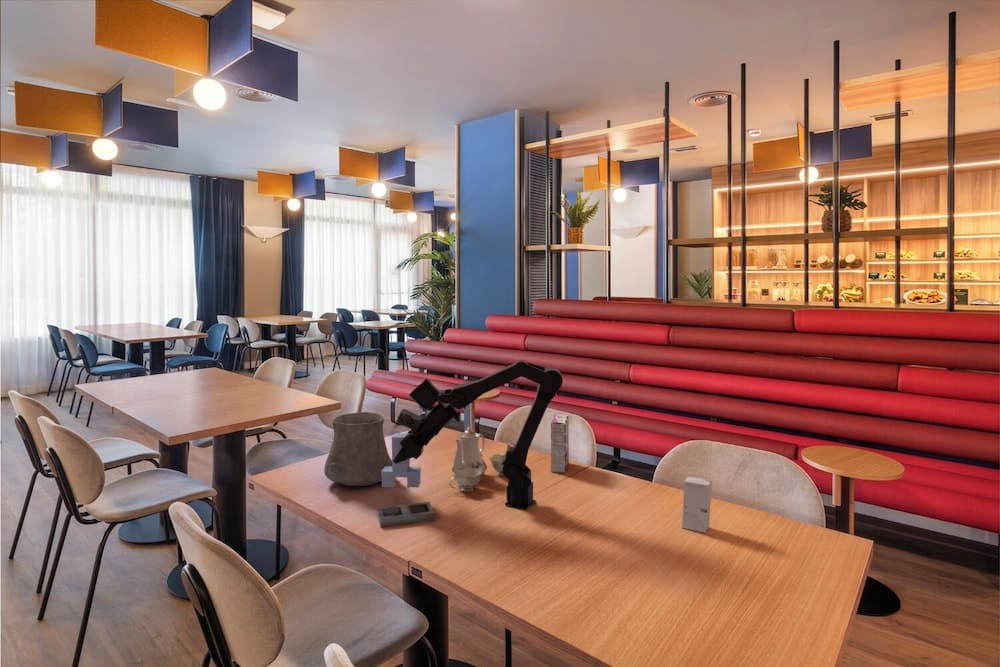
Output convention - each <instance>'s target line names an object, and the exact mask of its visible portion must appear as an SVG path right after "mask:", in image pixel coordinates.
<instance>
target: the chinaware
mask: <svg viewBox="0 0 1000 667" xmlns="http://www.w3.org/2000/svg"><path fill="white" fill-rule="evenodd" d="M458 436H459V439H460V440H459V439H455V442H456V450H455V454H454V458H453V460H454V461H453V466H452V469H451V471H452V473H453V476H454V477H452V478H451V479H450V481H449V486H450V487H451V488H452V489H456V488H457V489H458V490H459V491H460V490H462V491H463V490H464V491H463V492H472V491H474V490H475V489H474V488H475V487H476V486H477V485H478V484H479V482H480V481H481V480H482V479H483V478H484V474H486V471H487V469H488V465H487V463H486V462H485V460H484V458H483V453H482V452H483V451H484V449H485V446H486V444H485V443H486V440H485V436H484V435H483V433H476V431H474V430H473V428H472V427H471V426H470V425H469V426H467V428H466V430H464V432H462V433H460V434H458ZM479 438H481V447H480V448H479ZM504 455H505V454H499V453H495V454H493V455H492V457H488V460H489V461H490V462H491V465H492V467H493V469H494V471H495V472H496V473H497V475H498V476H502V477H503V476H504V474H503V471H502V469H503V465H502V457H503V456H504ZM504 477H505V476H504ZM454 480H455V481H456V483H457V486H456V485H455V486H452V481H454Z"/></svg>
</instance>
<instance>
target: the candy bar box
mask: <svg viewBox="0 0 1000 667" xmlns="http://www.w3.org/2000/svg"><path fill="white" fill-rule="evenodd" d="M569 416H570V415H568V414H554V416H553V418H552V421H551V422H550V437H551V438H550V442H551V443H550V444H551V451H550V453H551V457H550V458H551V460H550V462H551V464H550V465H551V466H550V467H551V468H550V469H551V470H550V471H551V473H562V474H566V472H567V469H568V466H569V461H570V460H569V456H570V452H569V451H570V450H569V449H570V448H569V444H570V441H569V438H570V437H569V436H570V434H569V432H570V431H569V428H570V427H569V426H570V424H569V422H570V421H569Z"/></svg>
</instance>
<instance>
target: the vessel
mask: <svg viewBox="0 0 1000 667" xmlns="http://www.w3.org/2000/svg"><path fill="white" fill-rule="evenodd" d="M384 421H385V417H384V416H383V415H382V414H381V413H380V414H379V413H377V412H371V411H359V412H358V411H357V412H351V413H345V414H342V415H338V416H336V417H335V418H334V419H333V418H332V420H331V422H332V423H331V424H332V427H333V428H332V429H333V438H332V439H333V440H332V444H331V447H330V450H329V453H328V455H327V458H326V460H325V463H324V468H323V473H324V475H325V477H326V479H328V480H329V481H331V482H334V483H337V484H340V485H345V486H349V487H350V486H352V487H368V486H370V485H371V486H372V485H374V484H377V483H380V481H381V482H382V477H381V471H382V470H383V469H384V467H385V466H392V457H390V454H389V452H388V448H387V444H386V439H385V435H384V423H385V422H384Z"/></svg>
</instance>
